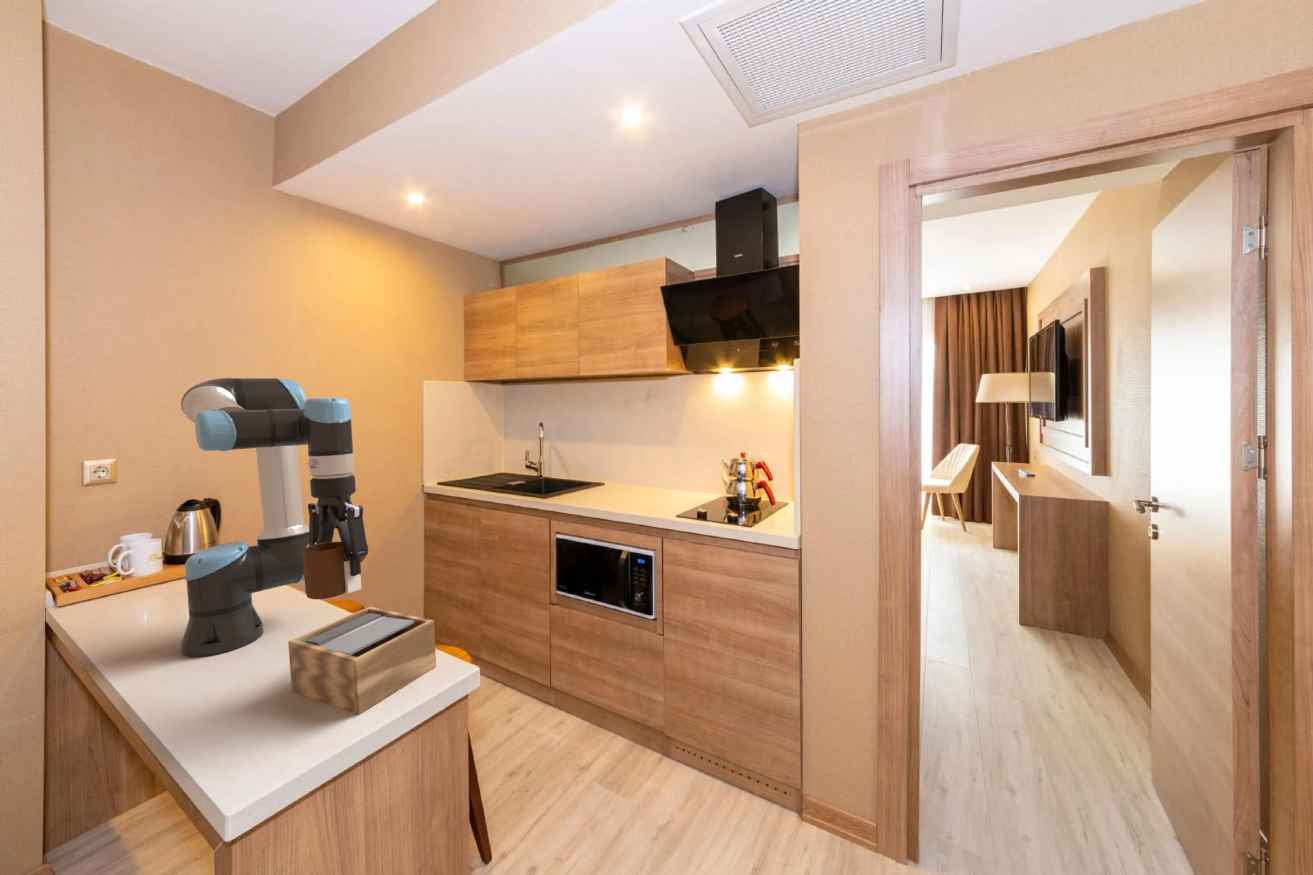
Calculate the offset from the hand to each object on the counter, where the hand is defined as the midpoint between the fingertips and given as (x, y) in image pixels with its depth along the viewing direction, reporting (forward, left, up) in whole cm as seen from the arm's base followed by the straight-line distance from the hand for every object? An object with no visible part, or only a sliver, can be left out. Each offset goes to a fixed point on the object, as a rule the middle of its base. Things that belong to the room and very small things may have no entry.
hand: (340, 587), depth 101 cm
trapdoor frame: (+1, +4, -21) cm, 21 cm away
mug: (0, 0, 0) cm, 0 cm away
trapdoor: (0, +4, -14) cm, 15 cm away
